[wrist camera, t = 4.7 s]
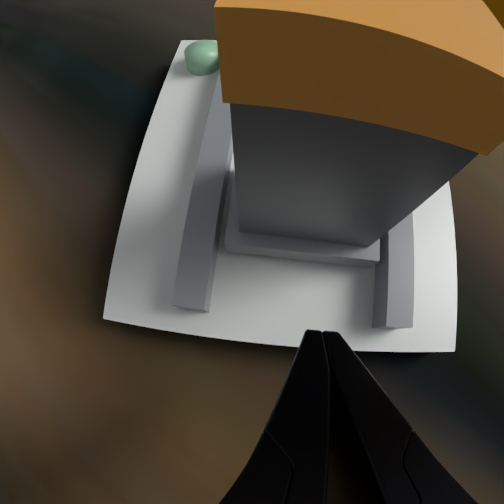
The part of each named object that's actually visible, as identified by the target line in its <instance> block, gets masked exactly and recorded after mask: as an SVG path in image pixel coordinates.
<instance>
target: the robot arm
mask: <svg viewBox="0 0 504 504" xmlns="http://www.w3.org/2000/svg"><path fill="white" fill-rule="evenodd" d="M219 504H478V503H477V502H476V501H475V500H474V499H473V498H472V497H471V496H470V495H469V494H468V493H467V492H466V491H465V490H464V489H463V488H462V487H461V486H460V484H459V483H458V482H457V481H456V480H455V479H454V478H453V477H452V476H451V475H450V474H449V473H448V472H447V471H446V469H445V468H444V467H443V466H442V465H441V464H440V463H439V462H438V460H437V459H436V458H435V457H434V456H433V455H432V453H431V452H430V451H429V449H428V448H427V447H426V446H425V444H424V443H423V442H422V441H421V439H420V438H419V437H418V435H417V434H416V433H415V431H412V427H411V426H410V425H409V423H408V422H407V421H406V419H405V418H404V417H403V415H402V414H401V413H400V411H399V410H398V409H397V407H396V406H395V405H394V403H393V402H392V401H391V400H390V398H389V397H388V396H387V394H386V393H385V392H384V390H383V389H382V388H381V386H380V385H379V384H378V382H377V381H376V380H375V379H374V377H373V376H372V375H371V373H370V372H369V371H368V369H367V368H366V367H365V366H364V364H363V363H362V362H361V360H360V359H359V358H358V356H357V355H356V354H355V353H354V351H353V350H352V349H351V347H350V346H349V345H348V344H347V342H346V341H345V340H344V338H343V337H342V336H341V335H340V333H338V332H336V331H323V332H321V331H320V330H310V329H307V330H306V331H305V333H304V335H303V338H302V340H301V343H300V346H299V348H298V351H297V353H296V356H295V358H294V361H293V363H292V366H291V368H290V371H289V373H288V375H287V378H286V380H285V383H284V385H283V387H282V390H281V392H280V394H279V397H278V399H277V401H276V404H275V406H274V408H273V411H272V413H271V415H270V417H269V420H268V422H267V424H266V426H265V429H264V431H263V433H262V435H261V437H260V439H259V441H258V443H257V445H256V447H255V449H254V451H253V453H252V455H251V457H250V459H249V461H248V463H247V464H246V466H245V468H244V469H243V471H242V472H241V474H240V475H239V477H238V478H237V480H236V481H235V483H234V484H233V486H232V487H231V488H230V490H229V491H228V492H227V494H226V495H225V496H224V498H223V499H222V500H221V502H220V503H219Z"/></svg>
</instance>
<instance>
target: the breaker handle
mask: <svg viewBox="0 0 504 504" xmlns="http://www.w3.org/2000/svg"><path fill="white" fill-rule="evenodd" d="M214 14H215V26H216V37H217V48H218V59H219V69H220V80H221V90H222V100H223V103H230V113H231V127H232V141H233V154H234V168H235V176H234V182H233V189H232V195H231V202H230V208H229V215H228V222H227V229H226V236H225V243H224V244H225V248H226V252H234V253H243V254H252V255H261V256H270V257H278V258H287V259H296V260H305V261H314V262H323V263H332V264H341V265H350V266H359V267H368V268H369V267H371V266H373V265H374V264H376V263H378V262H379V261H380V238H381V237H382V236H383V235H385V234H386V233H387V232H388V231H389V230H391V229H392V228H393V227H394V226H396V225H397V224H398V223H399V222H401V221H402V220H403V219H404V218H405V217H407V216H408V215H409V214H410V213H411V212H413V211H414V210H415V209H416V208H417V207H419V206H420V205H421V204H422V203H423V202H425V201H426V200H427V199H428V198H429V197H430V196H432V195H433V194H434V193H435V192H436V191H437V190H439V189H440V188H441V187H442V186H443V185H444V184H446V183H447V182H448V181H449V180H450V179H451V178H452V177H454V176H455V175H456V174H457V173H458V172H459V171H460V170H461V169H462V168H464V167H465V166H466V165H467V164H468V163H469V162H470V161H471V160H472V159H474V158H475V157H476V156H477V155H478V154H479V153H480V154H483V155H486V156H487V155H488V154H489V153H490V152H492V151H493V150H494V149H495V148H496V147H497V146H498V145H499V144H500V143H501V142H503V141H504V29H503V28H502V26H501V25H500V23H499V22H498V21H497V19H496V18H495V16H494V15H493V14H492V12H491V11H490V10H489V8H488V7H487V6H486V4H485V3H484V2H483V1H482V0H217V1H216V3H215V6H214Z"/></svg>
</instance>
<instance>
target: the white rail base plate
mask: <svg viewBox="0 0 504 504" xmlns="http://www.w3.org/2000/svg"><path fill="white" fill-rule="evenodd" d="M234 176H235V168H234V154H233V141H232V127H231V113H230V103H223V100H222V90H221V80H220V69H219V59H218V48H217V40H182V41H181V43H180V45H179V48H178V50H177V52H176V55H175V57H174V59H173V62H172V64H171V67H170V69H169V72H168V74H167V77H166V79H165V82H164V84H163V87H162V89H161V92H160V95H159V97H158V100H157V103H156V106H155V108H154V111H153V114H152V117H151V120H150V123H149V126H148V129H147V132H146V135H145V138H144V141H143V144H142V147H141V150H140V154H139V157H138V160H137V164H136V167H135V170H134V174H133V177H132V181H131V185H130V188H129V192H128V196H127V200H126V204H125V208H124V212H123V216H122V220H121V224H120V228H119V233H118V237H117V242H116V247H115V251H114V256H113V261H112V266H111V272H110V277H109V283H108V289H107V294H106V301H105V307H104V314H103V319H107V320H112V321H116V322H121V323H127V324H132V325H137V326H142V327H148V328H154V329H159V330H165V331H171V332H177V333H184V334H190V335H197V336H204V337H211V338H218V339H226V340H234V341H242V342H251V343H260V344H270V345H280V346H291V347H299V346H300V343H301V340H302V338H303V335H304V333H305V331H306V330H307V329H310V330H320V331H321V332H323V331H336V332H338V333H340V335H341V336H342V337H343V338H344V340H345V341H346V342H347V344H348V345H349V346H350V347H351V349H352V350H353V351H377V352H455V342H456V324H457V262H456V243H455V230H454V219H453V210H452V201H451V194H450V187H449V181H448V182H447V183H446V184H444V185H443V186H442V187H441V188H440V189H439V190H437V191H436V192H435V193H434V194H433V195H432V196H430V197H429V198H428V199H427V200H426V201H425V202H423V203H422V204H421V205H420V206H419V207H417V208H416V209H415V210H414V211H413V212H411V213H410V214H409V215H408V216H407V217H405V218H404V219H403V220H402V221H401V222H399V223H398V224H397V225H396V226H394V227H393V228H392V229H391V230H389V231H388V232H387V233H386V234H385V235H383V236H382V237H381V238H380V261H379V262H378V263H376V264H374V265H373V266H371V267H369V268H368V267H359V266H350V265H341V264H332V263H323V262H314V261H305V260H296V259H287V258H278V257H270V256H261V255H252V254H243V253H234V252H226V248H225V244H224V243H225V236H226V229H227V222H228V215H229V208H230V202H231V195H232V189H233V182H234Z"/></svg>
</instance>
